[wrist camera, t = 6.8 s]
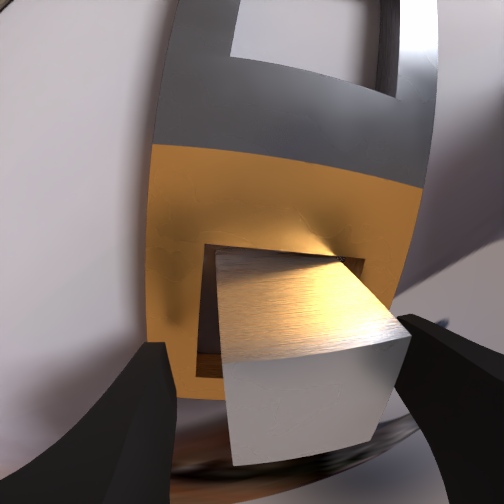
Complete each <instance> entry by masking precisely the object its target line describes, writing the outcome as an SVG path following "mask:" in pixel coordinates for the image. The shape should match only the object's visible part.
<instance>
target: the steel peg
mask: <svg viewBox="0 0 504 504" xmlns="http://www.w3.org/2000/svg"><path fill="white" fill-rule="evenodd" d="M215 259H216V279H217V297H218V314H219V329H220V343H221V356H222V368H223V379H224V389H225V399H226V408H227V417H228V426H229V435H230V443H231V451H232V459H233V466H239V465H250V464H259V463H267V462H275V461H282V460H288V459H294V458H300V457H305V456H310V455H315V454H320V453H324V452H329V451H333V450H337V449H341V448H345V447H349V446H353V445H356V444H360V443H363V442H367V441H370V439H371V437H372V435H373V433H374V431H375V429H376V427H377V425H378V423H379V421H380V418H381V416H382V414H383V412H384V409H385V407H386V405H387V402H388V400H389V397H390V395H391V392H392V390H393V387H394V385H395V383H396V380H397V377H398V375H399V372H400V369H401V366H402V364H403V361H404V358H405V355H406V352H407V349H408V346H409V343H410V340H411V337H412V335H411V334H410V333H409V332H408V331H407V330H406V329H405V328H404V327H403V326H402V324H401V323H400V322H399V321H398V320H397V319H396V318H395V317H394V316H393V315H392V314H391V313H390V312H389V311H388V310H387V309H386V307H385V306H384V305H383V304H382V303H381V302H380V301H379V300H378V299H377V298H376V297H375V296H374V295H373V294H372V293H371V292H370V291H369V290H368V289H367V288H366V287H365V286H364V285H363V284H362V283H361V282H360V281H359V280H358V279H357V278H356V277H355V276H354V275H353V274H352V273H351V272H350V271H349V270H348V269H347V268H346V267H345V266H344V265H343V264H342V263H341V262H340V261H339V260H338V259H337V258H336V257H335V256H332V255H321V254H311V253H300V252H289V251H279V250H268V249H257V248H243V249H224V250H215Z"/></svg>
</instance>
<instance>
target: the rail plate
mask: <svg viewBox="0 0 504 504" xmlns="http://www.w3.org/2000/svg"><path fill="white" fill-rule="evenodd" d="M239 5H240V0H179V3H178V7H177V11H176V14H175V19H174V23H173V27H172V31H171V36H170V40H169V45H168V49H167V54H166V59H165V64H164V70H163V75H162V81H161V87H160V93H159V99H158V106H157V113H156V120H155V128H154V136H153V144H152V154H151V164H150V175H149V188H148V203H147V222H146V256H145V292H146V326H147V342H165V344H166V349H167V353H168V358H169V362H170V366H171V370H172V374H173V378H174V382H175V386H176V390H177V397H179V398H192V399H210V400H226V399H225V389H224V379H223V368H222V356H221V355H216V354H200V353H197V339H198V322H199V307H200V294H201V281H202V269H203V257H204V246H205V244H213V245H224V246H235V247H246V248H257V249H268V250H279V251H289V252H300V253H311V254H321V255H332V256H343V257H345V260H344V264H343V265H344V266H345V267H346V268H347V269H348V270H349V271H350V272H351V273H352V274H353V275H354V276H355V277H356V278H357V279H358V280H359V281H360V282H361V283H362V284H363V285H364V286H365V287H366V288H367V289H368V290H369V291H370V292H371V293H372V294H373V295H374V296H375V297H376V298H377V299H378V300H379V301H380V302H381V303H382V304H383V305H384V306H385V307H386V309H387V310H388V311H389V309H390V306H391V303H392V300H393V298H394V295H395V292H396V289H397V286H398V283H399V280H400V276H401V273H402V270H403V267H404V264H405V260H406V257H407V253H408V250H409V246H410V243H411V239H412V235H413V231H414V227H415V223H416V219H417V215H418V211H419V206H420V202H421V197H422V192H423V188H424V182H425V177H426V172H427V166H428V160H429V154H430V147H431V140H432V133H433V124H434V115H435V105H436V92H437V74H438V21H437V4H436V0H381V22H380V42H379V56H378V68H377V79H376V89H375V91H374V90H372V89H369V88H366V87H363V86H360V85H357V84H353V83H350V82H347V81H344V80H340V79H337V78H333V77H330V76H326V75H322V74H318V73H314V72H310V71H306V70H302V69H298V68H293V67H288V66H284V65H279V64H273V63H268V62H262V61H256V60H250V59H243V58H236V57H230V52H231V46H232V41H233V36H234V30H235V25H236V20H237V15H238V10H239Z"/></svg>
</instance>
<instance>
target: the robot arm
mask: <svg viewBox="0 0 504 504" xmlns="http://www.w3.org/2000/svg"><path fill="white" fill-rule="evenodd" d="M397 320H398V321H399V322H400V323H401V324H402V326H403V327H404V328H405V329H406V330H407V331H408V332H409V333H410V334H411V335H412V337H411V340H410V343H409V346H408V349H407V352H406V355H405V358H404V361H403V364H402V366H401V369H400V372H399V375H398V377H397V380H396V383H395V385H394V387H395V389H396V391H397V393H398V394H399V396H400V397H401V399H402V401H403V402H404V404H405V405H406V407H407V408H408V410H409V412H410V413H411V415H412V416H413V418H414V420H415V421H416V423H417V424H418V426H419V428H420V429H421V431H422V432H423V434H424V436H425V438H426V440H427V442H428V443H429V446H430V447H431V450H432V453H433V455H434V457H435V460H436V462H437V465H438V467H439V470H440V473H441V476H442V479H443V481H444V485H445V488H446V492H447V496H448V500H449V504H504V355H503V354H501V353H498V352H495V351H493V350H491V349H488V348H486V347H484V346H481V345H479V344H477V343H475V342H472V341H470V340H468V339H466V338H464V337H462V336H460V335H458V334H455V333H453V332H451V331H449V330H447V329H445V328H443V327H441V326H439V325H437V324H435V323H433V322H430V321H428V320H426V319H424V318H421V317H419V316H416V315H413V314H408V315H403V316H398V317H397ZM176 421H177V390H176V386H175V382H174V378H173V374H172V370H171V366H170V362H169V358H168V353H167V349H166V344H165V342H145V343H144V344H143V345H142V346H141V347H140V348H139V350H138V351H137V352H136V354H135V355H134V356H133V358H132V359H131V360H130V362H129V363H128V364H127V366H126V367H125V368H124V369H123V371H122V372H121V373H120V375H119V376H118V377H117V378H116V380H115V381H114V382H113V383H112V385H111V386H110V387H109V388H108V390H107V391H106V392H105V393H104V394H103V396H102V397H101V398H100V399H99V400H98V401H97V402H96V403H95V404H94V406H93V407H92V408H91V409H90V410H89V411H88V412H87V413H86V415H85V416H84V417H83V418H82V419H81V420H80V421H79V422H78V423H77V424H76V425H75V426H74V427H73V428H72V429H71V430H69V431H68V432H67V433H66V434H65V435H64V436H63V437H62V438H61V439H60V440H58V441H57V442H56V443H55V444H53V445H52V446H51V447H49V448H48V449H47V450H46V451H44V452H43V453H42V454H40V455H39V456H38V457H36V458H35V459H34V460H32V461H31V462H30V463H28V464H27V465H25V466H23V467H22V468H20V469H19V470H17V471H16V472H14V473H12V474H10V475H9V476H7V477H5V478H3V479H2V480H0V504H170V498H169V490H170V475H171V465H172V456H173V447H174V438H175V430H176Z"/></svg>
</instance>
